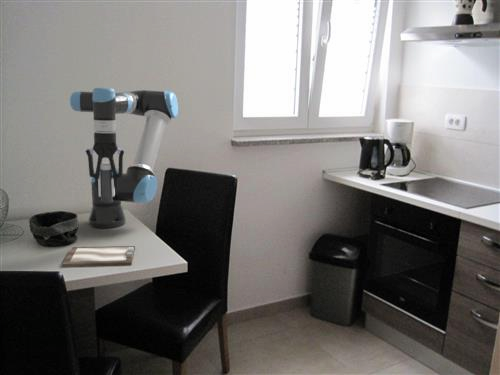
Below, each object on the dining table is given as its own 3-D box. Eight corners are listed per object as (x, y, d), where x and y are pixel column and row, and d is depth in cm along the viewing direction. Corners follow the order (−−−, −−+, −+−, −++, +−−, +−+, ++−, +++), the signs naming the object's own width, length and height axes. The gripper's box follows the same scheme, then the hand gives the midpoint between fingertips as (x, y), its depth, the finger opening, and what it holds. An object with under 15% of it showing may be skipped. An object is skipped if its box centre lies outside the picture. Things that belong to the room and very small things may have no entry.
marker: (101, 199, 177) (100, 162, 174) (113, 199, 177) (112, 162, 174) (100, 202, 173) (99, 164, 170) (112, 202, 173) (111, 164, 170)
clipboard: (72, 249, 171) (72, 243, 171) (135, 248, 175) (135, 242, 174) (62, 266, 156) (62, 260, 156) (131, 264, 159) (131, 258, 159)
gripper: (78, 132, 165) (80, 198, 170) (128, 133, 167) (129, 198, 172) (82, 130, 172) (84, 193, 177) (130, 131, 175) (131, 193, 180)
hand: (106, 195), depth 175 cm, fingers closed on marker, 4 cm apart
